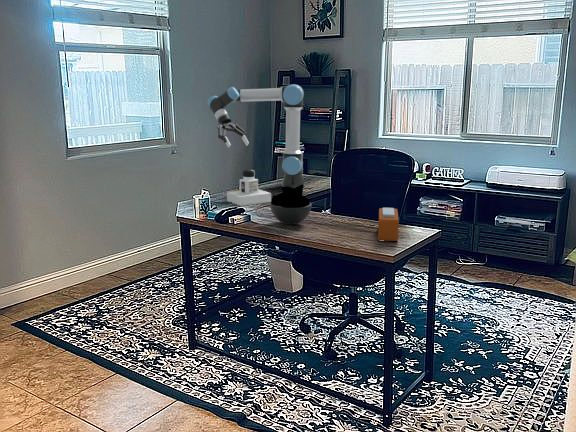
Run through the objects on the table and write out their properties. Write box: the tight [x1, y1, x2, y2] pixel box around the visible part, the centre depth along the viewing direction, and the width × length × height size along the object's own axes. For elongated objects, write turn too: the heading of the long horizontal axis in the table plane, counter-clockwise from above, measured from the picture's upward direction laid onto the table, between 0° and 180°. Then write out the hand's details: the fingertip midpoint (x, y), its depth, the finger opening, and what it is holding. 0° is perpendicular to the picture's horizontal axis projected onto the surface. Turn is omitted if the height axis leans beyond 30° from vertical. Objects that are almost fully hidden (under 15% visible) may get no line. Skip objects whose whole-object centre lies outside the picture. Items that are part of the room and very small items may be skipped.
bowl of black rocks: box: [269, 184, 313, 225], centre depth 272 cm, size 20×20×19 cm
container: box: [239, 169, 259, 194], centre depth 320 cm, size 8×8×13 cm
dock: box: [226, 188, 272, 207], centre depth 322 cm, size 20×16×5 cm
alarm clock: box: [377, 207, 400, 242], centre depth 254 cm, size 24×8×11 cm, turn 171°
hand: (238, 145), depth 334 cm, fingers open, 13 cm apart
